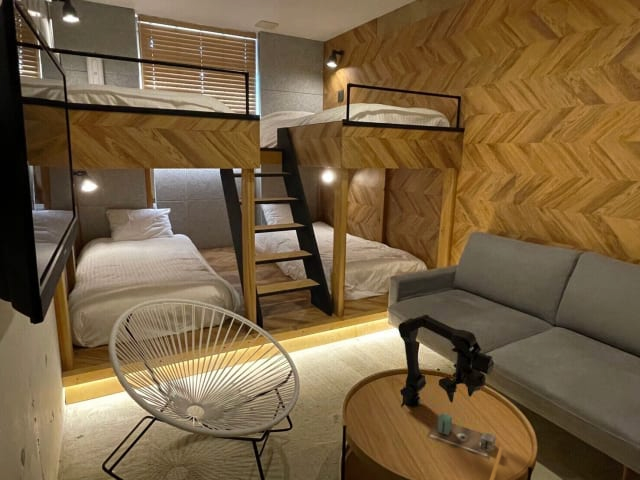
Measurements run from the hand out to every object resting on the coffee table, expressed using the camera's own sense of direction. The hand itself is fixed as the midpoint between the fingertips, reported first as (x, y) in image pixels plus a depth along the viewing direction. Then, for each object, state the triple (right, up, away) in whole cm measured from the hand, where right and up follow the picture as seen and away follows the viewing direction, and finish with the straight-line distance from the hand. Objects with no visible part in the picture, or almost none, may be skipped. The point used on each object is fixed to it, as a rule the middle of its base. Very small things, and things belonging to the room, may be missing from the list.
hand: (460, 399), depth 171 cm
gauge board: (-1, -14, -4) cm, 15 cm away
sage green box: (-7, -12, -1) cm, 14 cm away
